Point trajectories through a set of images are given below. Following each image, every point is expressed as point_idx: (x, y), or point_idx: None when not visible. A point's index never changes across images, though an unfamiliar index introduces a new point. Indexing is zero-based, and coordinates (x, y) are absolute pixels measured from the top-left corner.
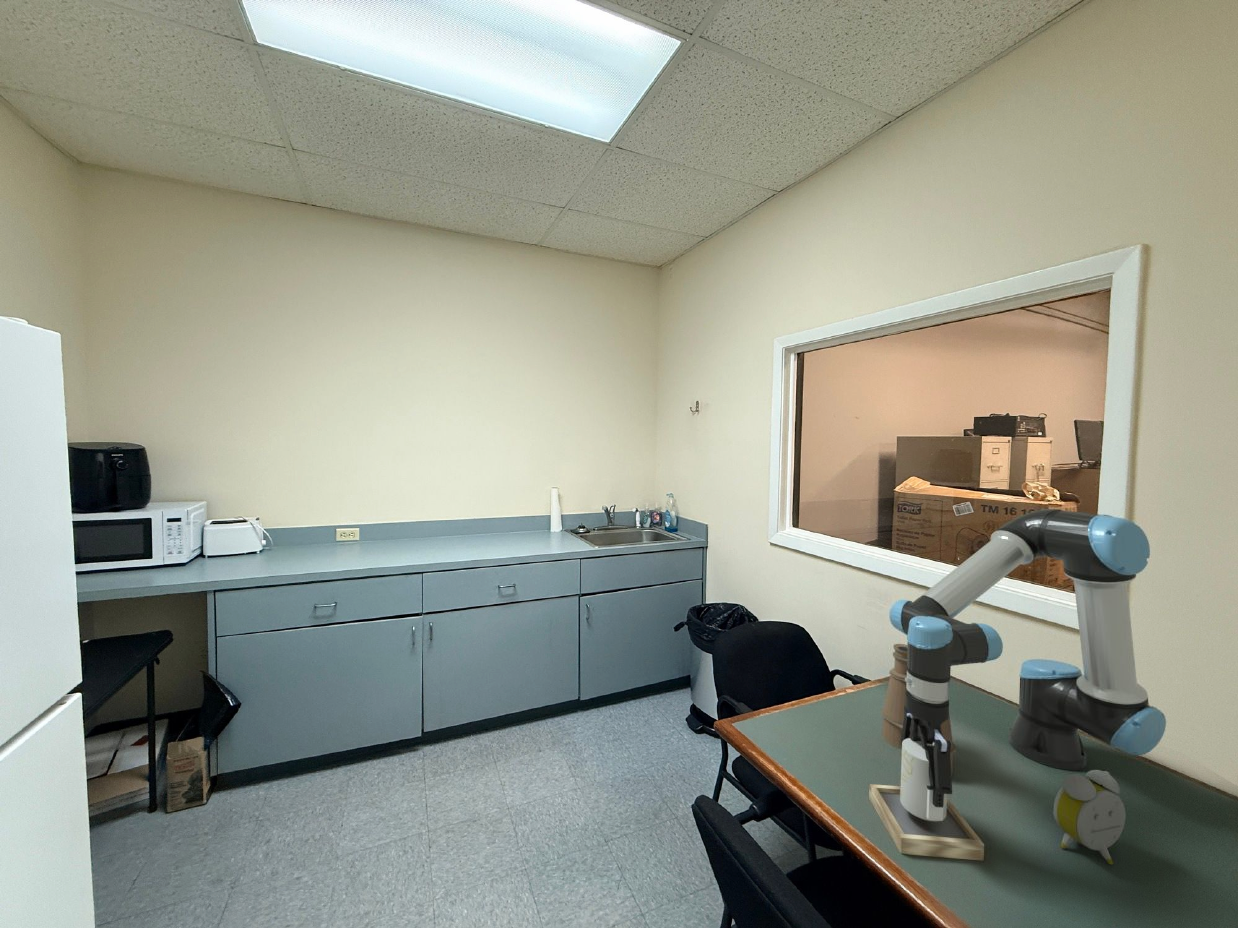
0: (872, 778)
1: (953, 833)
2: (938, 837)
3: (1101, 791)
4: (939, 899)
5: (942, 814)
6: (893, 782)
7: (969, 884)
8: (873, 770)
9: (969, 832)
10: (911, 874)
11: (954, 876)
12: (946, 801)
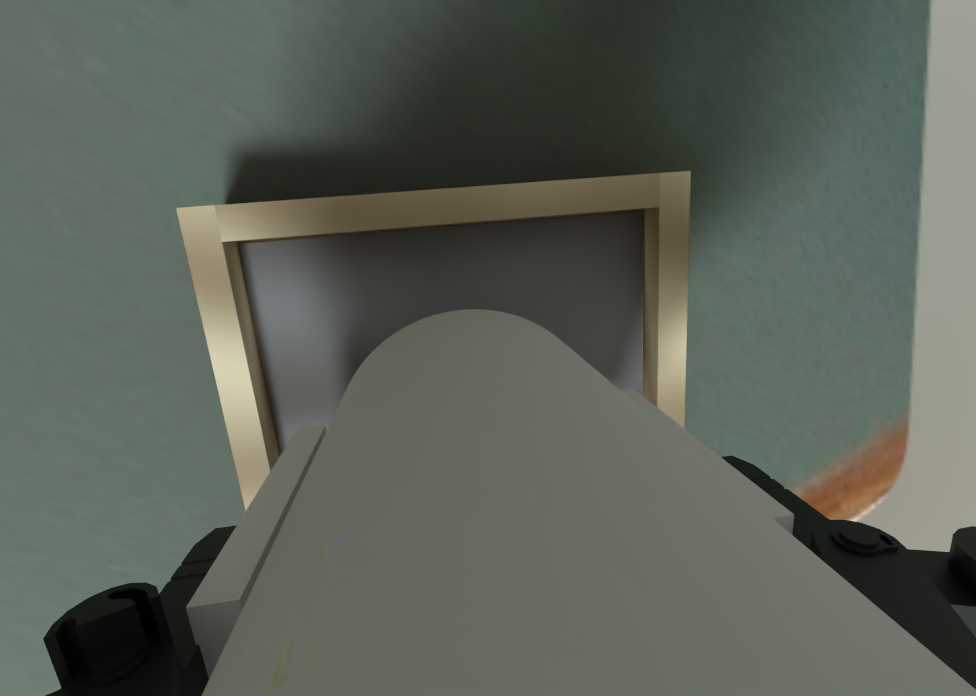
0: (102, 536)
1: (575, 292)
2: (662, 410)
3: None
4: (840, 459)
5: (652, 406)
6: (96, 429)
7: (776, 317)
8: (4, 514)
9: (600, 211)
10: None
11: (741, 361)
12: (582, 359)
